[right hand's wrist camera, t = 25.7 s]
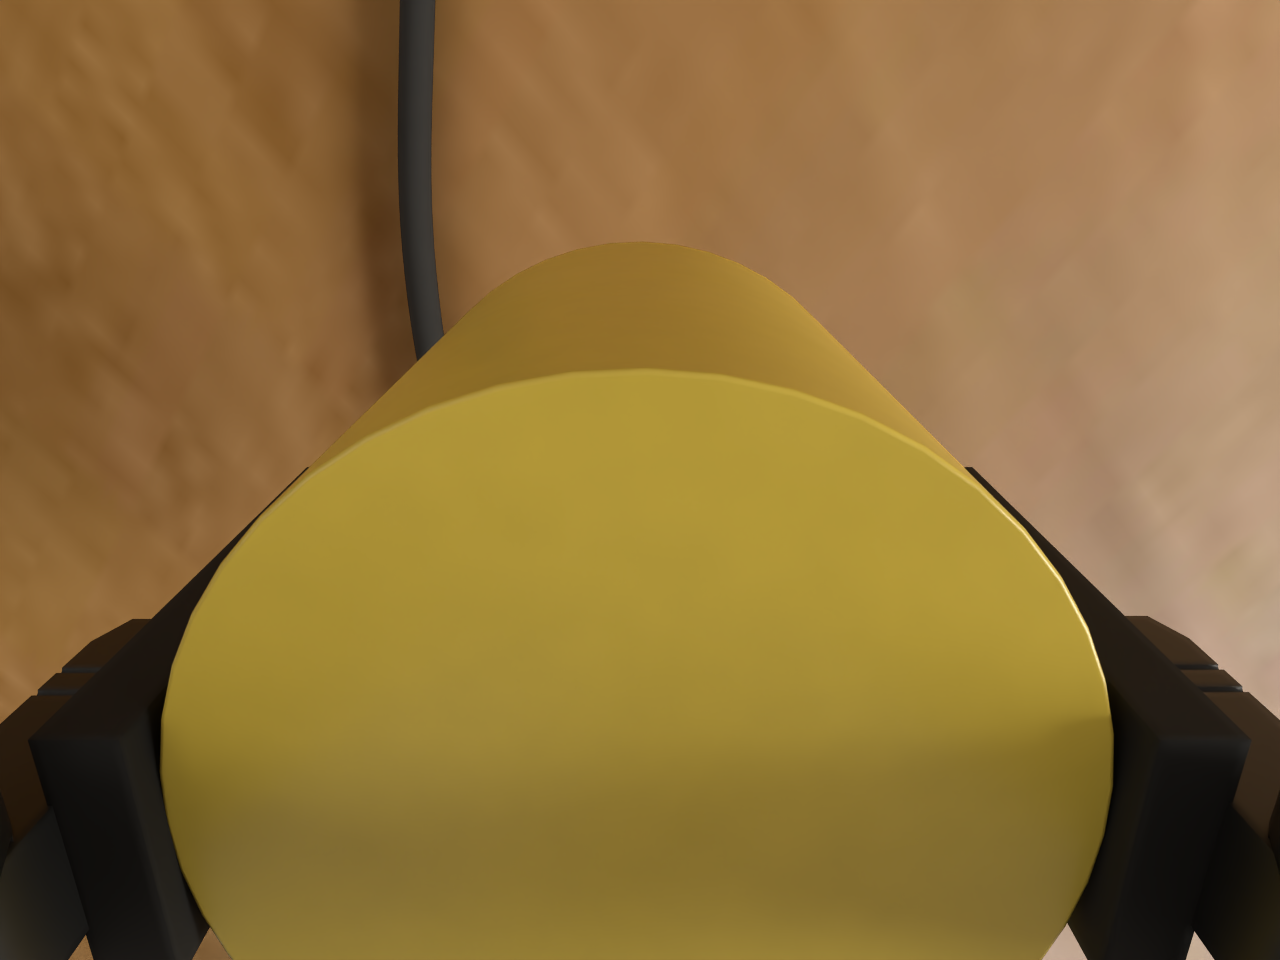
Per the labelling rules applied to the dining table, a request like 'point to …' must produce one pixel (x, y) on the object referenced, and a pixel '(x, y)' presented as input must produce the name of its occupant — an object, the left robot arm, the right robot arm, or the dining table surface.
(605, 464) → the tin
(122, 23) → the dining table surface
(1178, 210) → the dining table surface
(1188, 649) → the right robot arm
